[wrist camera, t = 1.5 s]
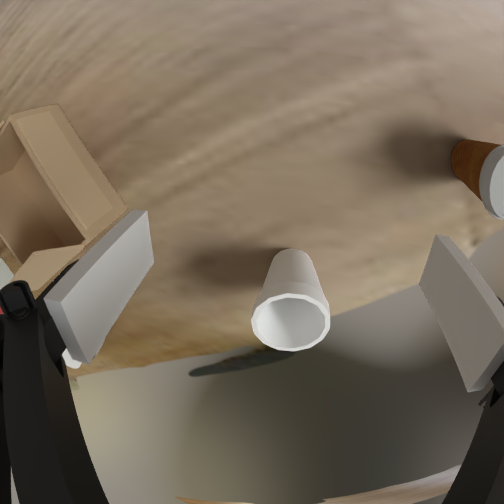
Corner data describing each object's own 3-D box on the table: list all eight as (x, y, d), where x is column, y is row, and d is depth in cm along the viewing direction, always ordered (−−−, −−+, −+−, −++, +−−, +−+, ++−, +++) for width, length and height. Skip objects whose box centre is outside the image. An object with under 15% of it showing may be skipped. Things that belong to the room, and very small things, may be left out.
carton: (11, 169, 43) (-28, 190, 33) (60, 101, 36) (11, 111, 27) (70, 256, 51) (37, 289, 41) (130, 206, 44) (93, 238, 35)
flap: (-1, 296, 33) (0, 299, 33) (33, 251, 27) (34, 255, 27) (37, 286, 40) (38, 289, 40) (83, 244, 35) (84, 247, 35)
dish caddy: (-12, 279, 60) (-25, 291, 55) (1, 257, 54) (-14, 270, 49) (22, 323, 66) (11, 336, 61) (40, 308, 60) (27, 323, 55)
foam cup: (249, 273, 48) (237, 331, 36) (280, 227, 43) (277, 279, 32) (300, 299, 49) (301, 359, 38) (334, 258, 45) (346, 315, 33)
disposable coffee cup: (446, 121, 32) (495, 137, 22) (494, 137, 31) (543, 157, 21) (436, 184, 37) (477, 218, 26) (482, 194, 36) (526, 228, 26)
